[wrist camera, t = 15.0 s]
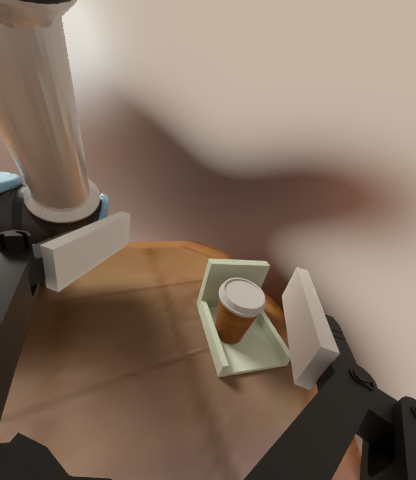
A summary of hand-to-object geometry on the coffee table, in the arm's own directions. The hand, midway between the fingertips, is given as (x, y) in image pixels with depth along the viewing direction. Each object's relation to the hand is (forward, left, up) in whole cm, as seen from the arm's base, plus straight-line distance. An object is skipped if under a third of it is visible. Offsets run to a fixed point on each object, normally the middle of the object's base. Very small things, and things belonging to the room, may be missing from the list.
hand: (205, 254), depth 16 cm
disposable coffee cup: (-15, +16, -29) cm, 36 cm away
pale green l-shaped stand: (-14, +19, -30) cm, 38 cm away
